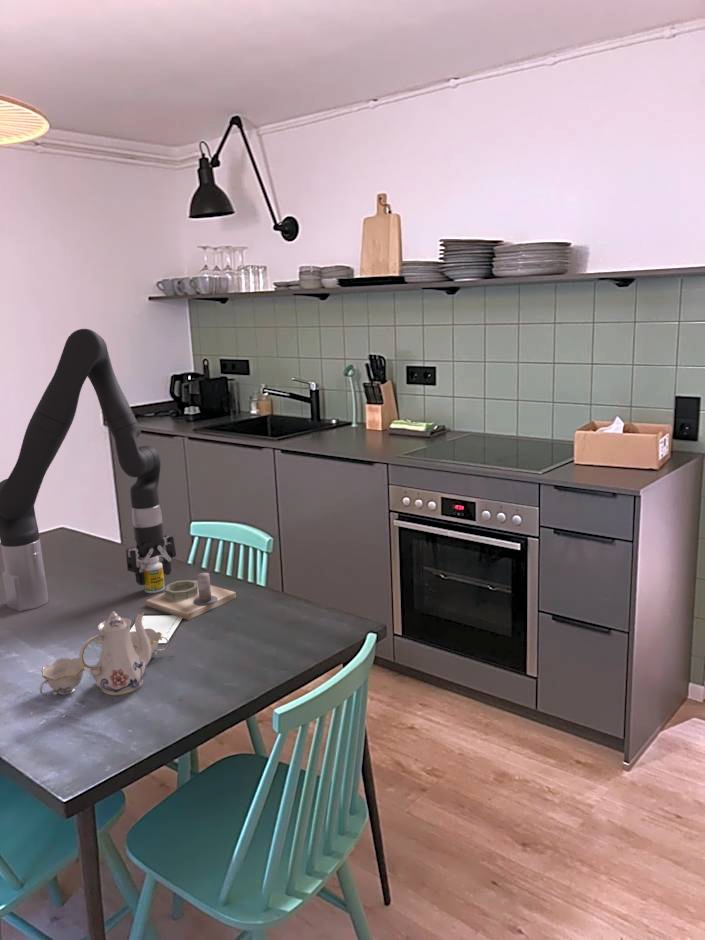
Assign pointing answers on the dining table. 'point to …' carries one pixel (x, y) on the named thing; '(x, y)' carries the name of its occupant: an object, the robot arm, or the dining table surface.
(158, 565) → the supplement bottle
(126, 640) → the chinaware
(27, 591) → the robot arm
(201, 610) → the board
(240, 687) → the dining table surface
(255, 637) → the dining table surface
